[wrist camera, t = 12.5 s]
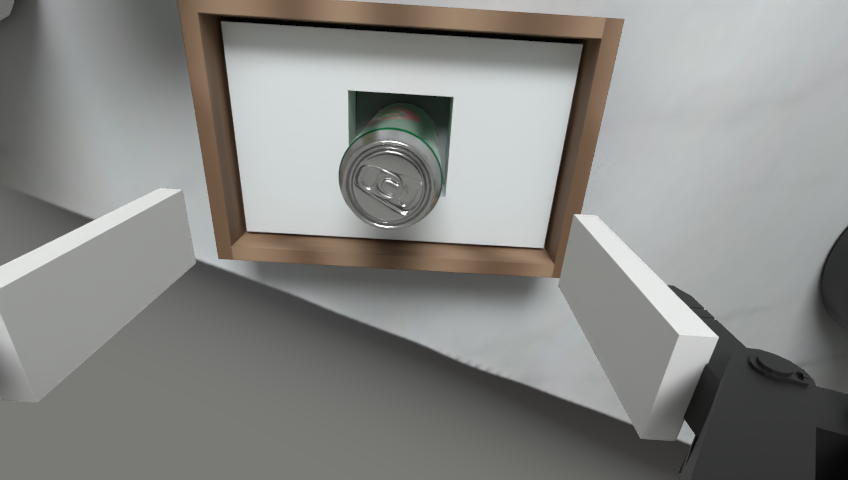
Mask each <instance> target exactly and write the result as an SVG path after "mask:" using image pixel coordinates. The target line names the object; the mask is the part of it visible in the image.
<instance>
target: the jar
mask: <svg viewBox="0 0 848 480" xmlns="http://www.w3.org/2000/svg"><path fill="white" fill-rule="evenodd" d="M14 1H15V0H0V21H1V20H2V19H4V18H6V17H7V16H9V15H10V13H11V10H12V7H13V5H14Z"/></svg>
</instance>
